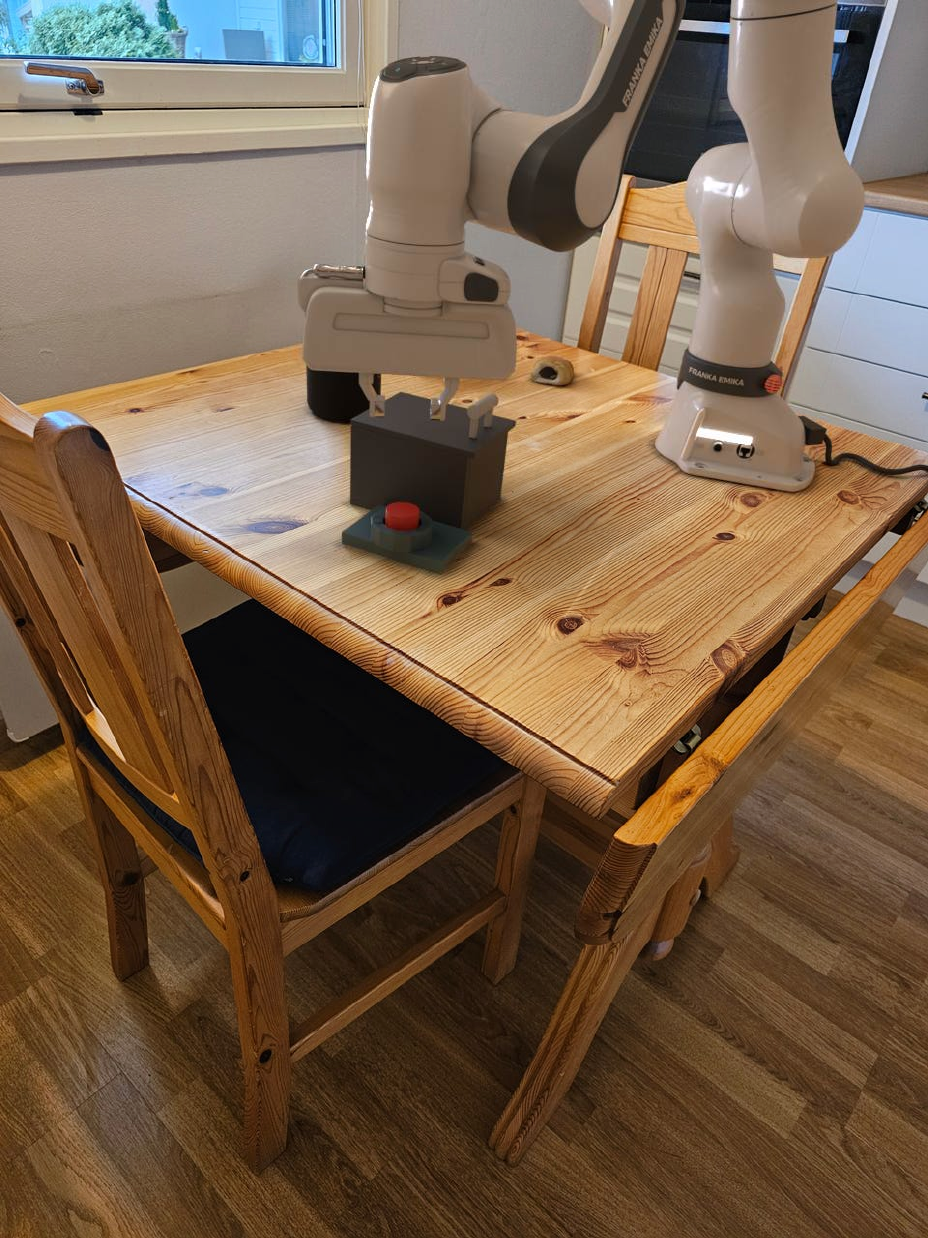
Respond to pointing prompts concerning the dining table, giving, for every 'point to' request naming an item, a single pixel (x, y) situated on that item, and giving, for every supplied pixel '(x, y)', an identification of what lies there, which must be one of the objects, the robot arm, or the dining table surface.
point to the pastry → (552, 371)
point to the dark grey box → (425, 477)
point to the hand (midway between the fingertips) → (407, 416)
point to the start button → (402, 516)
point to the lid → (439, 424)
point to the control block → (408, 540)
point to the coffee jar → (337, 394)
